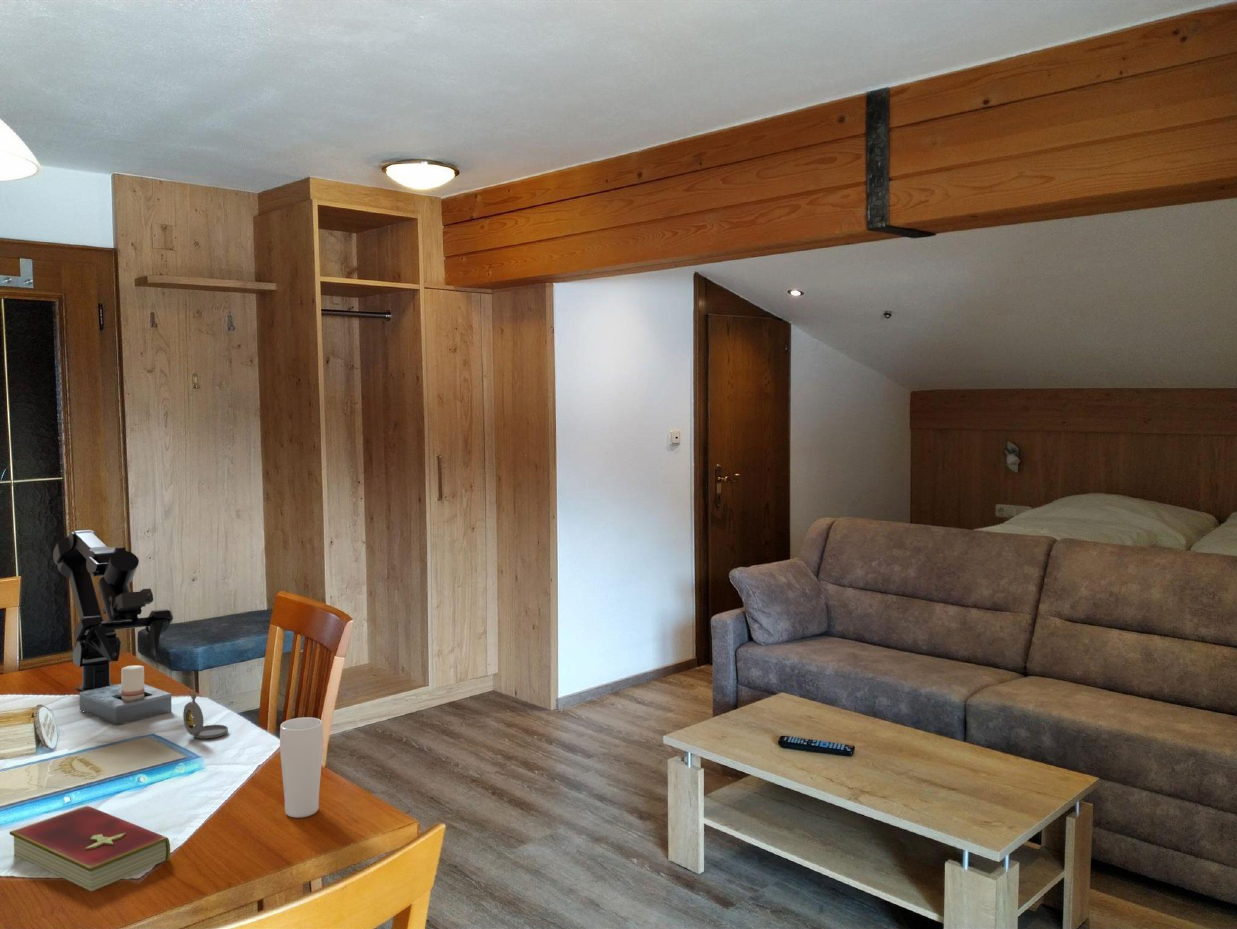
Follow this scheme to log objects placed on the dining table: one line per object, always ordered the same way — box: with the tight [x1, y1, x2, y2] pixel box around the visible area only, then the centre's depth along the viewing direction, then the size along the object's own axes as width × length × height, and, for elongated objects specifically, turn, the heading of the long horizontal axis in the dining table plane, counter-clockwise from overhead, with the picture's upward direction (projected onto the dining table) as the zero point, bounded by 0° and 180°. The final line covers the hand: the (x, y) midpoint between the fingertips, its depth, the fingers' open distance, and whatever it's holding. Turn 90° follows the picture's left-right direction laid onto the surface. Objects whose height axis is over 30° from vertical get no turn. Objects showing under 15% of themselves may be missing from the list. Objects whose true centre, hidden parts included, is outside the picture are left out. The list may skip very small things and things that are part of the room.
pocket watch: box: [182, 690, 229, 739], centre depth 196 cm, size 8×8×10 cm
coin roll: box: [120, 665, 145, 702], centre depth 209 cm, size 4×4×10 cm
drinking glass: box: [279, 716, 324, 819], centre depth 159 cm, size 7×7×15 cm
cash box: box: [79, 683, 172, 726], centre depth 211 cm, size 16×12×4 cm
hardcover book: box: [9, 805, 171, 892], centre depth 143 cm, size 12×21×4 cm, turn 59°
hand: (134, 657), depth 208 cm, fingers open, 9 cm apart
